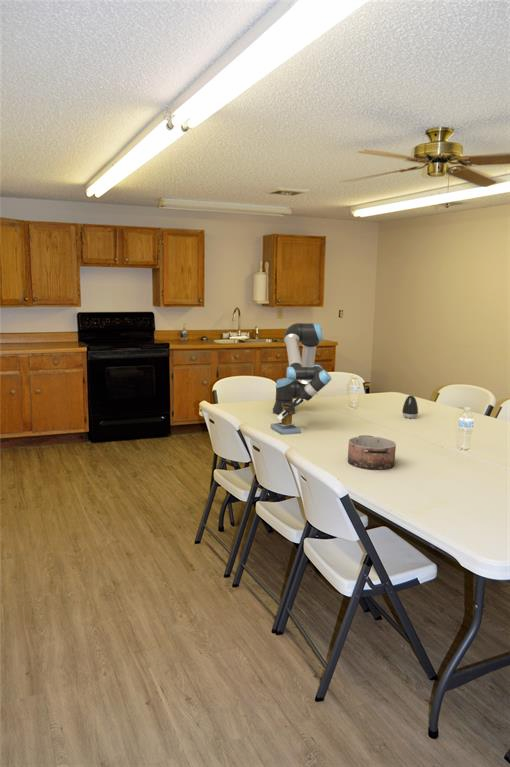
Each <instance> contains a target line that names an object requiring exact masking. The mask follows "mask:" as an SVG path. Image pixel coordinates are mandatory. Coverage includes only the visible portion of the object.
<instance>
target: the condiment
mask: <svg viewBox="0 0 510 767" xmlns="http://www.w3.org/2000/svg"><path fill="white" fill-rule="evenodd" d="M290 405H291V404H289V403H284V404H283V408H282V412H283V411H284V409H287V408H288V407H289V406H290ZM292 422H293V414H292V410H291V411H290V412H289V413H288V414H287V415H286V416H285V417H284V418H282V419H281V422H276V423H277V424H279V425H282V426H285V425H295V423H292Z"/></svg>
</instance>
